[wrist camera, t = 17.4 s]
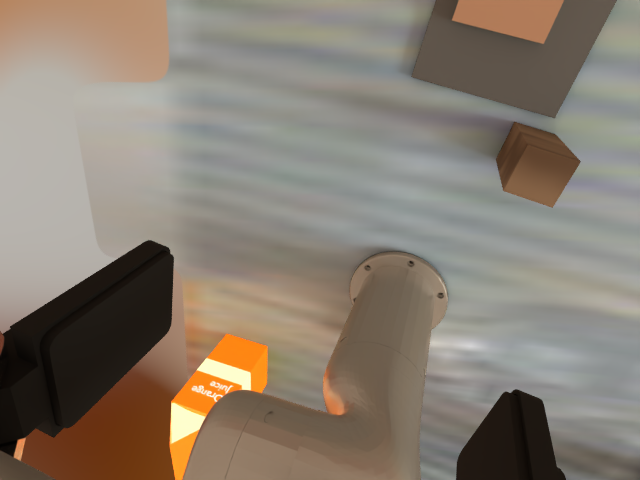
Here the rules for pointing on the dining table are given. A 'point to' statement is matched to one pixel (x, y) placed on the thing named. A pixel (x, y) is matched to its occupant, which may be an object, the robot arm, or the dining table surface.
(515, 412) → the robot arm
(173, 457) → the orange juice
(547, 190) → the block
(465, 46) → the mat
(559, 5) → the tile
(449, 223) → the dining table surface
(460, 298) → the dining table surface
